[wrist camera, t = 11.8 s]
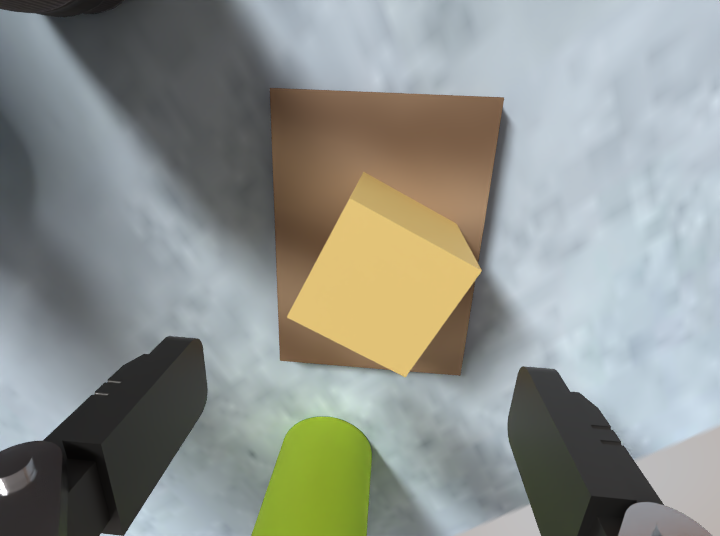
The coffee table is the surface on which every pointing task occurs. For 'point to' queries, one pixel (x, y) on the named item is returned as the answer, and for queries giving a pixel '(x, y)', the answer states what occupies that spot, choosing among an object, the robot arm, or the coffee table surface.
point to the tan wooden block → (386, 277)
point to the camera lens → (59, 6)
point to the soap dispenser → (318, 482)
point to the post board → (387, 164)
